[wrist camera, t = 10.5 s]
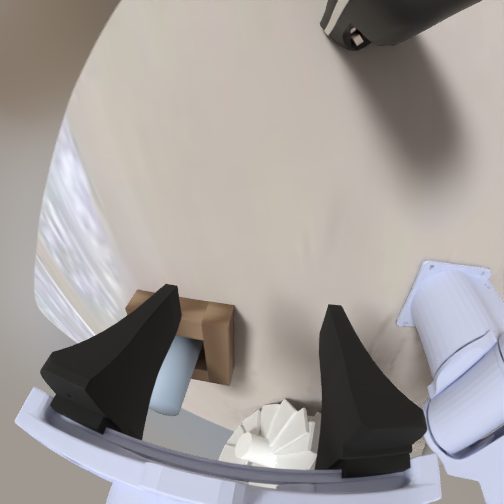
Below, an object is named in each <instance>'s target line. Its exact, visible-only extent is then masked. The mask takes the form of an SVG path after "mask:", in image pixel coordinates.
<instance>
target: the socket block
mask: <svg viewBox="0 0 504 504" xmlns="http://www.w3.org/2000/svg"><path fill="white" fill-rule="evenodd" d="M153 294H154V293H152V292H147V291H142V290H137V291H136V293H135V294H134V296H133V297H132V299H131V300H130V302H129V303H128V305H127V306H126V308H125V309H126V312H127V315H129V314H130V313H131V312H133V311H134V310H135V309H136V308H138V307H139V306H140V305H141V304H143V303H144V302H145V301H146V300H147V299H149V298H150V297H151V296H152V295H153ZM179 300H180V307H181V313H182V317H181V321H180V324H179V327H178V330H177V333H176V335H177V336H182V337H187V338H193V339H198V340H203V342H204V349H201V351H200V354H199V356H198V359H197V362H196V365H195V368H194V371H193V374H192V377H191V379H196V380H201V381H206V382H211V383H217V384H222V385H228V386H230V382H231V378H232V373H233V369H234V305H228V304H221V303H214V302H207V301H201V300H194V299H188V298H182V297H179Z"/></svg>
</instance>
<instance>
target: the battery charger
mask: <svg viewBox="0 0 504 504" xmlns="http://www.w3.org/2000/svg"><path fill="white" fill-rule="evenodd" d="M480 1H481V0H328V3H327V6H326V10H325V13H324V16H323V18H322V20H321V22H320V25H321V27H322V28H323V29H324V32H325V33H326V34H327V35H330V36H331V37H332V38H333V39H334V40H335V42H337V43H338V44H340V45H341V46H342V47H344V48H346V49H348V50H352V51H357V50H360V49H362V48H364V47H365V46H367V45H369V44H370V43H372V42H373V43H374V44H376V45H380V46H391V45H396V44H398V43H400V42H403V41H405V40H407V39H409V38H411V37H413V36H415V35H417V34H419V33H421V32H423V31H425V30H427V29H428V28H430V27H432V26H434V25H436V24H437V23H439V22H441V21H443V20H445V19H446V18H448V17H450V16H452V15H454V14H456V13H458V12H460V11H462V10H464V9H466V8H468V7H470V6H472V5H474V4H476V3H478V2H480Z"/></svg>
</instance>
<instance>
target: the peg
mask: <svg viewBox="0 0 504 504" xmlns="http://www.w3.org/2000/svg"><path fill="white" fill-rule="evenodd" d="M202 345H203V340H198V339H193V338H187V337H182V336H177V335H176V336H175V338H174V340H173V342H172V344H171V347H170V349H169V351H168V353H167V355H166V357H165V360H164V362H163V364H162V366H161V368H160V371H159V373H158V376H157V379H156V383H155V386H154V389H153V393H152V396H151V400H150V404H149V409H151V410H153V411H155V412H157V413H160V414H163V415H168V416H177V415H178V414H179V411H180V409H181V406H182V403H183V400H184V397H185V394H186V391H187V388H188V385H189V382H190V379H191V377H192V374H193V371H194V368H195V365H196V362H197V359H198V356H199V354H200V351H201V348H202Z"/></svg>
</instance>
